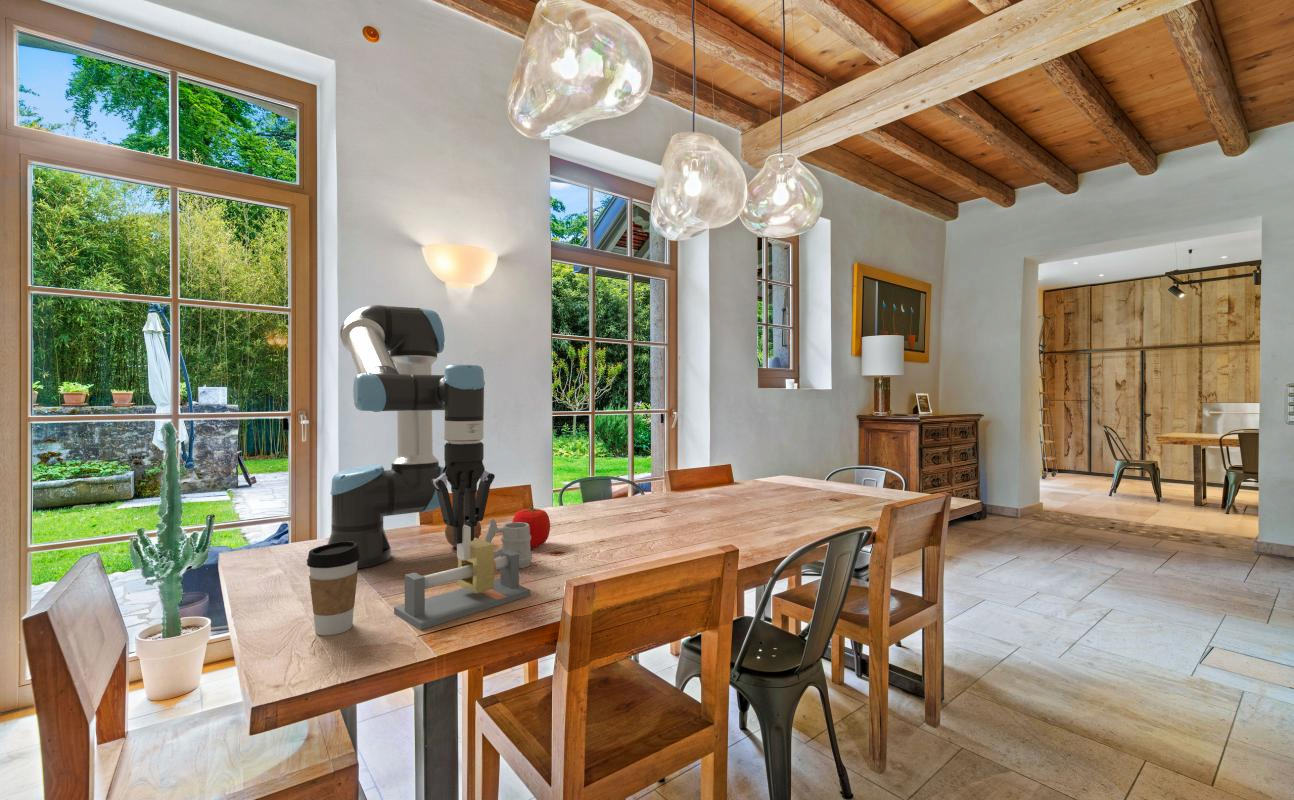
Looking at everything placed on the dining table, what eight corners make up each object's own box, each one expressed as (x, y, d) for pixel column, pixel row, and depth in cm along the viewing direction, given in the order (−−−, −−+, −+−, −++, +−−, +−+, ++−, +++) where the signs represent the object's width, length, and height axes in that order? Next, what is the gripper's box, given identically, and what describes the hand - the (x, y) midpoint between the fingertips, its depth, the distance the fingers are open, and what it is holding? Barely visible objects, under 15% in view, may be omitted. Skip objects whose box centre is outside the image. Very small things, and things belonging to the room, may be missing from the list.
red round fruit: (512, 542, 161) (512, 504, 161) (549, 540, 163) (550, 503, 163) (510, 552, 151) (510, 512, 151) (550, 551, 153) (550, 511, 153)
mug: (535, 567, 139) (535, 518, 139) (485, 573, 134) (485, 522, 134) (528, 558, 146) (528, 512, 146) (480, 564, 141) (481, 515, 141)
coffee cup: (367, 628, 103) (367, 546, 103) (316, 643, 97) (316, 556, 97) (349, 615, 109) (349, 537, 109) (300, 629, 103) (299, 546, 102)
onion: (450, 560, 154) (432, 529, 151) (462, 541, 163) (446, 512, 160) (481, 549, 152) (464, 518, 150) (491, 531, 161) (475, 501, 159)
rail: (394, 613, 110) (394, 571, 110) (501, 582, 128) (501, 546, 128) (420, 630, 103) (420, 585, 103) (530, 595, 120) (530, 556, 120)
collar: (458, 584, 118) (458, 541, 118) (475, 580, 121) (475, 537, 121) (476, 593, 113) (476, 548, 113) (494, 588, 116) (494, 544, 116)
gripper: (442, 445, 107) (442, 569, 108) (502, 441, 117) (502, 555, 117) (424, 442, 112) (423, 561, 113) (483, 438, 122) (482, 548, 122)
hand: (463, 558), depth 115 cm, fingers closed
